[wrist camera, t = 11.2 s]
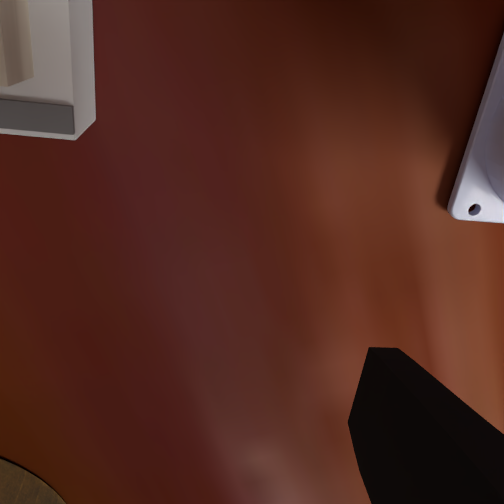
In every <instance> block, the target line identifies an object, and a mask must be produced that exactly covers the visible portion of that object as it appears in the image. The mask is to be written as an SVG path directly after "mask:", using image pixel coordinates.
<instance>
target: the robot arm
mask: <svg viewBox="0 0 504 504" xmlns="http://www.w3.org/2000/svg"><path fill="white" fill-rule="evenodd" d="M473 204H476V207H475V209H474V210H473V211H471V212H468V209H469V208H470V206H472V205H473ZM447 210H448V213H449V214H450V215H451V216H452V217H453V218H455V219H458V220H468V221H481V222H494V223H504V33H503V37H502V40H501V43H500V46H499V49H498V52H497V55H496V58H495V61H494V64H493V67H492V70H491V73H490V77H489V80H488V83H487V86H486V89H485V92H484V95H483V98H482V101H481V104H480V107H479V110H478V113H477V117H476V120H475V123H474V126H473V129H472V132H471V135H470V138H469V141H468V144H467V147H466V150H465V153H464V157H463V160H462V163H461V166H460V169H459V172H458V175H457V178H456V181H455V184H454V187H453V190H452V193H451V197H450V200H449V203H448V207H447ZM348 426H349V430H350V434H351V439H352V443H353V447H354V451H355V455H356V459H357V463H358V467H359V471H360V474H361V476H362V479H363V482H364V485H365V487H366V490H367V493H368V495H369V498H370V501H371V503H372V504H504V434H503V433H501V432H500V431H499V430H497V429H496V428H495V427H494V426H492V425H491V424H490V423H489V422H487V421H486V420H485V419H484V418H483V417H481V416H480V415H479V414H478V413H476V412H475V411H474V410H473V409H472V408H470V407H469V406H468V405H467V404H466V403H464V402H463V401H462V400H461V399H460V398H458V397H457V396H456V395H455V394H454V393H452V392H451V391H450V390H449V389H448V388H446V387H445V386H444V385H443V384H442V383H440V382H439V381H438V380H437V379H436V378H434V377H433V376H432V375H431V374H430V373H429V372H427V371H426V370H425V369H424V368H422V367H421V366H420V365H419V364H418V363H416V362H415V361H414V360H413V359H411V358H410V357H409V356H408V355H406V354H405V353H404V352H402V351H401V350H400V349H398V348H380V347H369V349H368V352H367V356H366V359H365V363H364V366H363V370H362V374H361V377H360V381H359V384H358V388H357V391H356V395H355V398H354V402H353V405H352V409H351V412H350V416H349V419H348Z"/></svg>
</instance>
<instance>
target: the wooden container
mask: <svg viewBox="0 0 504 504" xmlns="http://www.w3.org/2000/svg"><path fill="white" fill-rule="evenodd" d="M0 504H66V503H65V502H64V501H63V500H62V498H61V497H60V496H59V495H58V494H57V493H56V492H55V491H54V490H53V489H52V488H51V487H49V486H48V485H47V484H46V483H44V482H43V481H42V480H40V479H39V478H37V477H36V476H34V475H33V474H31V473H29V472H28V471H26V470H24V469H22V468H20V467H18V466H16V465H14V464H12V463H9V462H7V461H5V460H2V459H0Z"/></svg>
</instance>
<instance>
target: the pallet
mask: <svg viewBox="0 0 504 504" xmlns="http://www.w3.org/2000/svg"><path fill="white" fill-rule="evenodd" d="M33 77H34V69H33V57H32V45H31V33H30V21H29V9H28V0H0V86H4V87H9V86H12V85H14V84H17V83H20V82H22V81H25V80H28V79H30V78H33Z"/></svg>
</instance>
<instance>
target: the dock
mask: <svg viewBox="0 0 504 504" xmlns="http://www.w3.org/2000/svg"><path fill="white" fill-rule="evenodd" d="M28 9H29V21H30V33H31V45H32V57H33V69H34V77H33V78H30V79H28V80H25V81H22V82H20V83H17V84H14V85H12V86H9V87H4V86H0V133H3V134H14V135H24V136H35V137H46V138H57V139H68V140H76V139H77V138H78V137H79V136H80V135H81V134H82V133H83V132H84V131H85V130H86V129H87V128H88V127H89V126H90V125H91V124H92V123H93V122H94V121H95V120H96V112H95V79H94V46H93V13H92V0H28Z"/></svg>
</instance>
